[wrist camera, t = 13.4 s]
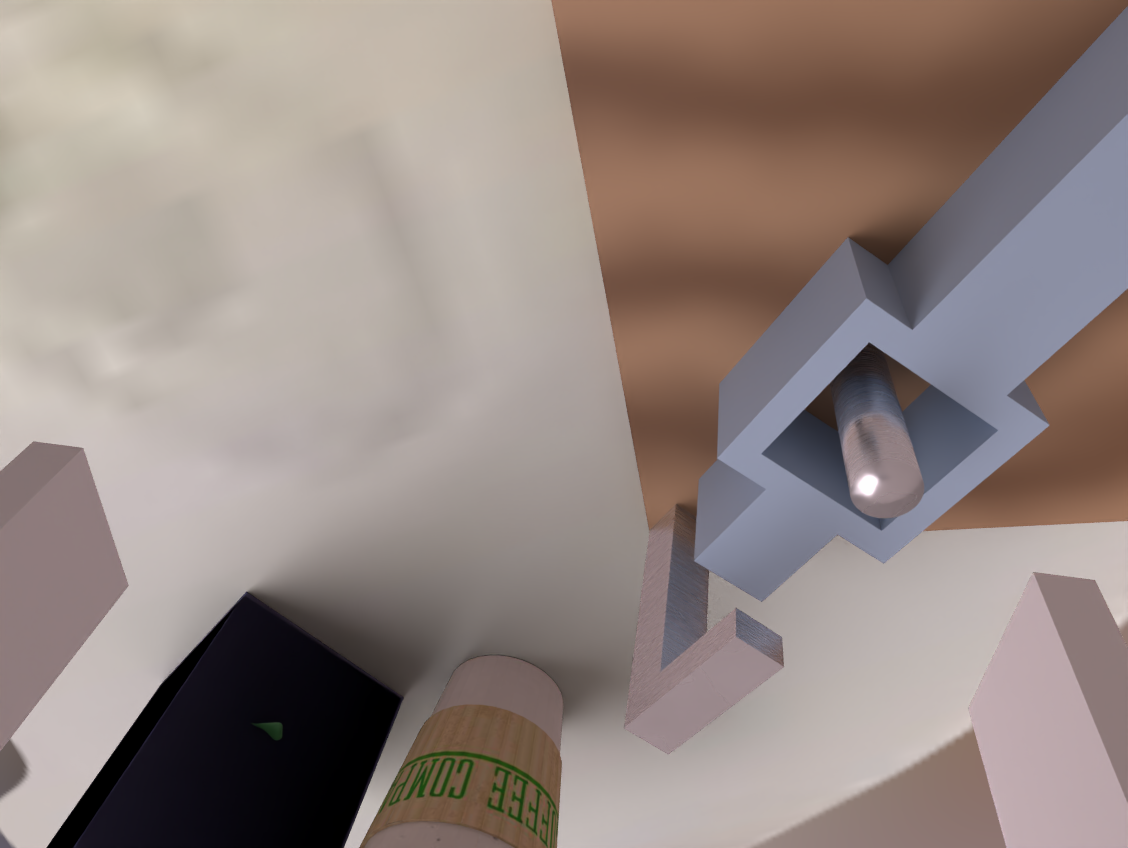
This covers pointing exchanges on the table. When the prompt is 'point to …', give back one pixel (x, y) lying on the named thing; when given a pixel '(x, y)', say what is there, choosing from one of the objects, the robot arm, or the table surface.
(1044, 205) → the link
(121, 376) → the table surface
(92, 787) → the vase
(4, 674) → the robot arm
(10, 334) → the table surface
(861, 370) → the pintle
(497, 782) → the coffee cup
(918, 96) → the board
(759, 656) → the bracket
